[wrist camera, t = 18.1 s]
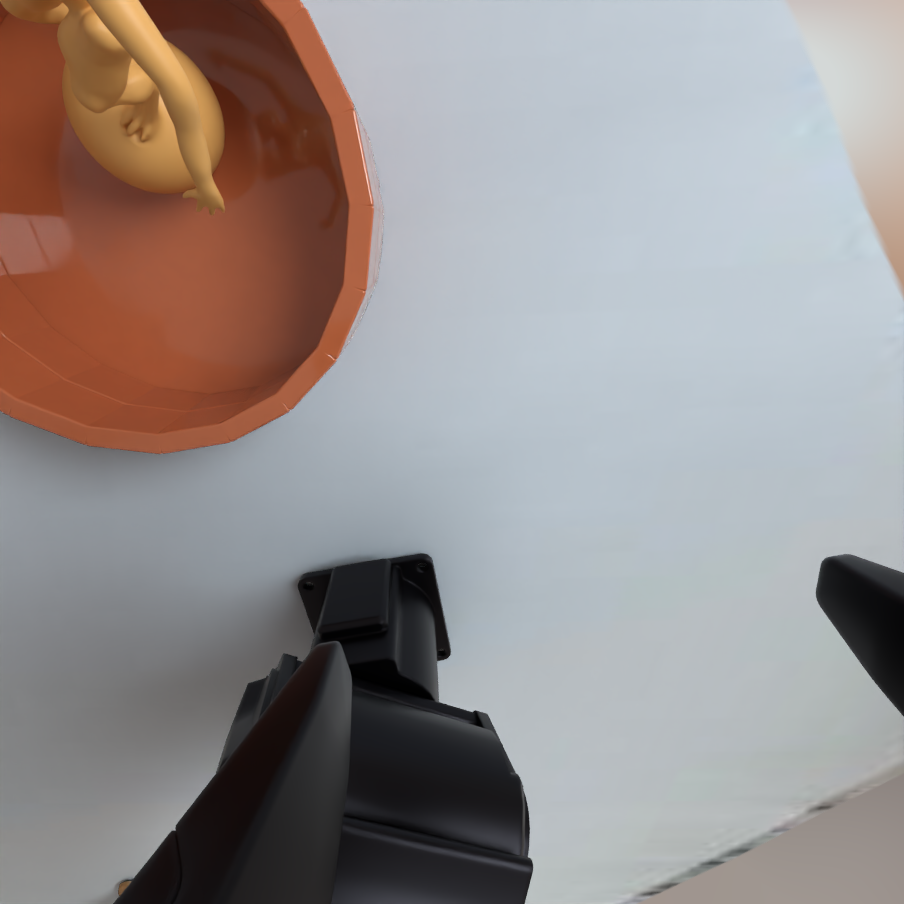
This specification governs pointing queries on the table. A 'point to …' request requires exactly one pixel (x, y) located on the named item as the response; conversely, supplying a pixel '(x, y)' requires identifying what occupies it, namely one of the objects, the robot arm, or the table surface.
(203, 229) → the pot
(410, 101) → the table surface
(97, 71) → the figurine
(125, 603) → the table surface
